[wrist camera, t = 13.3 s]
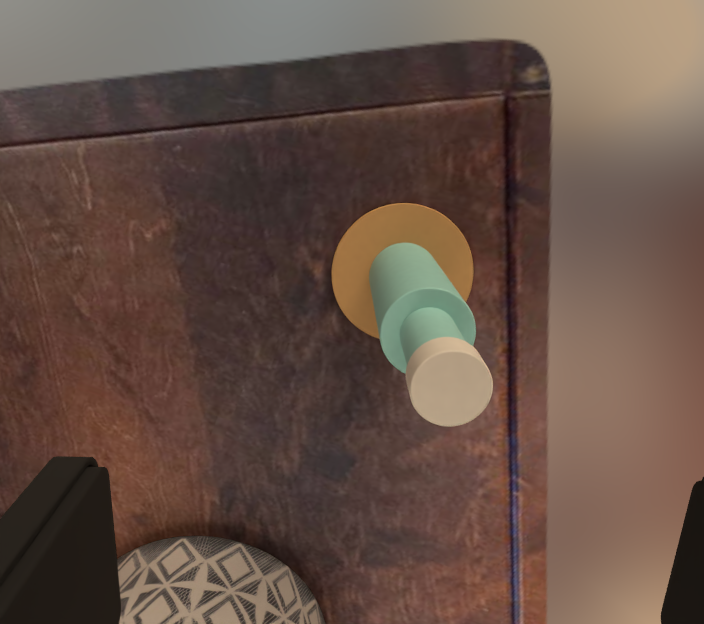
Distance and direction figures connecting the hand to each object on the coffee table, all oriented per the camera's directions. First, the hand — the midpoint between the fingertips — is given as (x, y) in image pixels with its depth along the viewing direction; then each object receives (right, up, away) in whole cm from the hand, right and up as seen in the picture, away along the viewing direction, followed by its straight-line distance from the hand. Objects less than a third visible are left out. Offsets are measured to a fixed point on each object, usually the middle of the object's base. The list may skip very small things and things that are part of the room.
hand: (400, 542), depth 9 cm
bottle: (+3, +6, +28) cm, 29 cm away
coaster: (+2, +6, +28) cm, 29 cm away
